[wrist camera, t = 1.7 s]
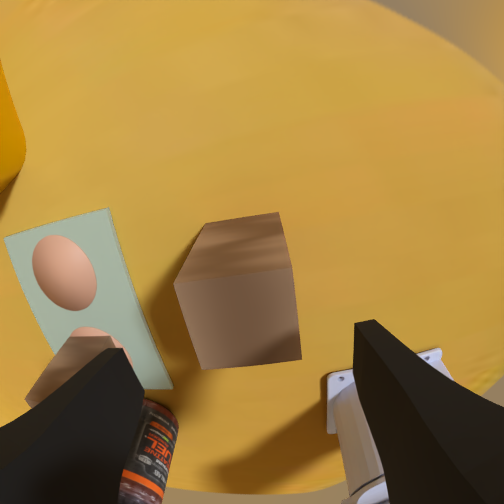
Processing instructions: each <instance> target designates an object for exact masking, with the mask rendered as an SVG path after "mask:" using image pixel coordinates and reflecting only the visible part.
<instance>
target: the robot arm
mask: <svg viewBox="0 0 504 504" xmlns="http://www.w3.org/2000/svg"><path fill="white" fill-rule="evenodd" d="M441 356H442V351H441V349H440V348H435V349H432V350H429V351H425V352H422V353H418V354H415V353H414V352H413V351H412V350H410V349H409V348H408V347H407V346H405V345H404V344H403V343H402V342H401V341H399V340H398V339H397V338H396V337H395V336H394V335H392V334H391V333H390V332H389V331H388V330H386V329H385V328H384V327H383V326H382V325H381V324H379V323H378V322H377V321H376V320H374V319H373V320H368V321H363V322H358V323H354V354H353V369H350V370H344V371H339V372H334V373H331V374H329V375H328V376H327V433H328V434H335V433H337V434H338V439H339V444H340V449H341V454H342V459H343V464H344V469H345V474H346V480H347V485H348V490H349V496H350V497H349V498H347V499H344V500H342V501H341V504H504V407H502V406H500V405H497V404H495V403H493V402H491V401H489V400H487V399H485V398H483V397H481V396H479V395H477V394H475V393H473V392H472V391H470V390H468V389H466V388H465V387H463V386H461V385H459V384H458V383H456V382H455V381H454V380H453V378H452V377H451V375H450V373H449V372H448V370H447V369H446V367H445V365H444V364H443V362H442V361H441ZM339 377H341V378H339ZM144 393H145V390H144V389H143V387H142V385H141V383H140V381H139V379H138V377H137V376H136V374H135V372H134V370H133V368H132V366H131V364H130V362H129V360H128V358H127V356H126V354H125V352H124V350H123V348H107V349H105V350H104V351H102V352H101V353H100V354H98V355H97V356H96V357H95V358H93V359H92V360H91V361H90V362H89V363H87V364H86V365H85V366H84V367H83V368H81V369H80V370H79V371H78V372H77V373H76V374H74V375H73V376H72V377H71V378H70V379H69V380H67V381H66V382H65V383H64V384H63V385H61V386H60V387H59V388H58V389H56V390H55V391H54V392H53V393H51V394H50V395H49V396H48V397H46V398H45V399H44V400H43V401H41V402H40V403H39V404H37V405H36V406H35V407H33V408H32V409H30V410H29V411H28V412H26V413H24V414H23V415H21V416H20V417H18V418H17V419H15V420H13V421H12V422H10V423H8V424H6V425H4V426H2V427H0V504H117V502H118V495H119V489H120V482H121V477H122V473H123V469H124V466H125V463H126V460H127V457H128V453H129V450H130V447H131V444H132V441H133V438H134V435H135V432H136V429H137V426H138V422H139V419H140V415H141V410H142V405H143V399H144Z"/></svg>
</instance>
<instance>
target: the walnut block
mask: <svg viewBox="0 0 504 504" xmlns="http://www.w3.org/2000/svg"><path fill="white" fill-rule="evenodd" d="M173 285H174V288H175V291H176V295H177V298H178V301H179V304H180V307H181V310H182V314H183V317H184V320H185V323H186V326H187V329H188V332H189V335H190V338H191V340H192V343H193V346H194V349H195V352H196V355H197V358H198V360H199V363H200V366H201V369H202V370H207V369H221V368H234V367H245V366H254V365H264V364H272V363H280V362H288V361H295V360H302V354H301V344H300V334H299V324H298V315H297V306H296V297H295V288H294V279H293V271H292V265H291V261H290V257H289V252H288V248H287V244H286V240H285V236H284V232H283V228H282V223H281V219H280V215H279V212H276V213H269V214H262V215H255V216H249V217H242V218H236V219H230V220H224V221H217V222H211V223H206V224H205V225H204V227H203V229H202V231H201V233H200V234H199V236H198V238H197V240H196V242H195V244H194V245H193V247H192V249H191V251H190V253H189V255H188V257H187V258H186V260H185V262H184V264H183V266H182V268H181V270H180V272H179V274H178V276H177V277H176V279H175V281H174V283H173Z"/></svg>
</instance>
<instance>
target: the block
mask: <svg viewBox="0 0 504 504" xmlns="http://www.w3.org/2000/svg"><path fill="white" fill-rule="evenodd" d="M107 348H116V347H115V345H114V343H113V340H112V338H111V336H77V337H69V338H68V339H67V340H66V342H65V343H64V344H63V346H62V347H61V348H60V350H59V351H58V352H57V354H56V355H55V356H54V358H53V359H52V360H51V362H50V363H49V364H48V366H47V367H46V369H45V370H44V371H43V373H42V374H41V376H40V377H39V379H38V380H37V381H36V383H35V384H34V386H33V387H32V389H31V390H30V392H29V393H28V395H27V396H26V398H25V400H26V402H27V403H28V404H29V406H30V407H31V408H33V407H35V406H36V405H37V404H39V403H40V402H41V401H43V400H44V399H45V398H46V397H48V396H49V395H50V394H51V393H53V392H54V391H55V390H56V389H58V388H59V387H60V386H61V385H63V384H64V383H65V382H66V381H67V380H69V379H70V378H71V377H72V376H73V375H74V374H76V373H77V372H78V371H79V370H80V369H81V368H83V367H84V366H85V365H86V364H87V363H89V362H90V361H91V360H92V359H93V358H95V357H96V356H97V355H98V354H100V353H101V352H102V351H104V350H105V349H107Z"/></svg>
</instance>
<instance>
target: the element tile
mask: <svg viewBox="0 0 504 504" xmlns="http://www.w3.org/2000/svg"><path fill="white" fill-rule="evenodd" d="M25 155H26V141H25V136H24V132H23V129H22V126H21V124H20V121H19V118H18V115H17V113H16V110H15V107H14V104H13V101H12V98H11V95H10V92H9V89H8V85H7V82H6V79H5V75H4V72H3V68H2V64H1V60H0V193H1V192H2V191H3V190H4V189H5V188H6V187H7V185H8V184H9V183H10V182H11V181H12V180H13V179H14V178H15V177H16V176H17V174H18V173H19V171H20V170H21V168H22V166H23V163H24V161H25Z"/></svg>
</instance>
